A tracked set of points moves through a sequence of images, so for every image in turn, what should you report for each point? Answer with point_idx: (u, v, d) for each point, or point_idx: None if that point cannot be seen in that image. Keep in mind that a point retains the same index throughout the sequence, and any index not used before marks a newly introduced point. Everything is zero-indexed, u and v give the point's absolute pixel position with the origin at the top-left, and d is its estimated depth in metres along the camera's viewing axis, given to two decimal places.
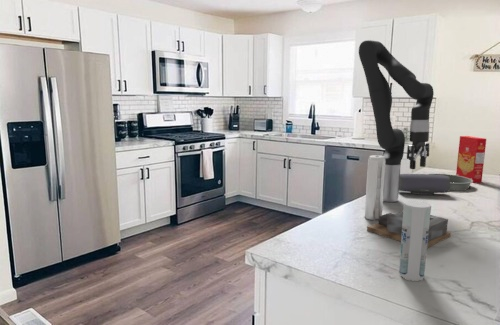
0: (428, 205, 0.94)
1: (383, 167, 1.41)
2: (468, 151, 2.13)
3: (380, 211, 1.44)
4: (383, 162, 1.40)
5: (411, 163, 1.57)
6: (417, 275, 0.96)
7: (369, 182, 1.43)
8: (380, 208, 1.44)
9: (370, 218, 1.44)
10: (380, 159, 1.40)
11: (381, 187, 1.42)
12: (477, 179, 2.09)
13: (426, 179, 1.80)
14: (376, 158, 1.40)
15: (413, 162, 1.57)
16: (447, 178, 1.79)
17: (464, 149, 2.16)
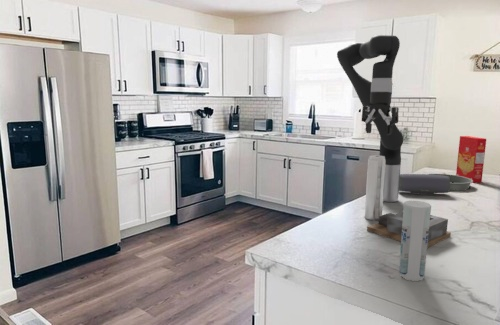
0: (428, 205, 0.94)
1: (383, 167, 1.41)
2: (468, 151, 2.13)
3: (380, 211, 1.44)
4: (383, 162, 1.40)
5: (391, 128, 1.37)
6: (417, 275, 0.96)
7: (369, 182, 1.43)
8: (380, 208, 1.44)
9: (370, 218, 1.44)
10: (380, 159, 1.40)
11: (381, 187, 1.42)
12: (477, 179, 2.09)
13: (426, 180, 1.80)
14: (376, 158, 1.40)
15: None
16: (447, 178, 1.79)
17: (464, 149, 2.16)
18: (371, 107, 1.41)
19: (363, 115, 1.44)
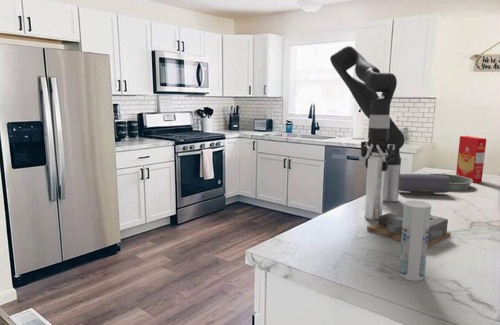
0: (428, 205, 0.94)
1: None
2: (468, 151, 2.13)
3: (380, 211, 1.44)
4: None
5: (387, 165, 1.40)
6: (417, 275, 0.96)
7: (369, 182, 1.43)
8: (380, 208, 1.44)
9: (370, 218, 1.44)
10: (380, 159, 1.40)
11: (381, 187, 1.42)
12: (477, 179, 2.09)
13: (426, 179, 1.80)
14: (376, 158, 1.40)
15: None
16: (447, 178, 1.79)
17: (464, 149, 2.16)
18: (369, 142, 1.44)
19: (362, 150, 1.46)
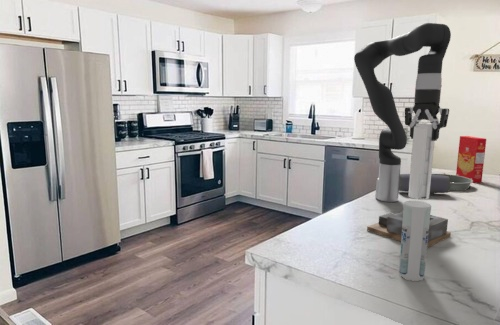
0: (428, 205, 0.94)
1: None
2: (468, 151, 2.13)
3: (428, 188, 1.23)
4: None
5: (437, 133, 1.18)
6: (417, 275, 0.96)
7: (416, 154, 1.22)
8: (428, 185, 1.22)
9: (416, 197, 1.23)
10: (430, 126, 1.19)
11: (430, 160, 1.21)
12: (477, 179, 2.09)
13: None
14: (425, 125, 1.19)
15: None
16: (447, 178, 1.79)
17: (464, 149, 2.16)
18: (415, 107, 1.22)
19: (406, 118, 1.25)
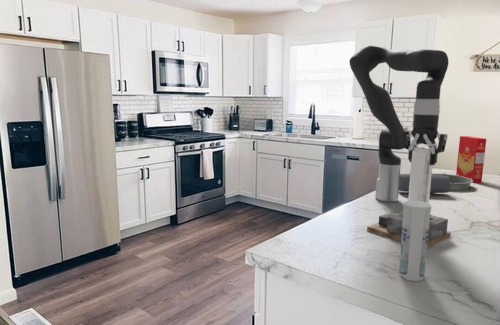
0: (428, 205, 0.94)
1: None
2: (468, 151, 2.13)
3: None
4: None
5: (436, 157, 1.20)
6: (417, 275, 0.96)
7: (414, 177, 1.23)
8: None
9: None
10: (428, 151, 1.20)
11: (428, 184, 1.22)
12: (477, 179, 2.09)
13: None
14: (423, 150, 1.20)
15: None
16: (447, 178, 1.79)
17: (464, 149, 2.16)
18: (414, 131, 1.24)
19: (405, 141, 1.26)
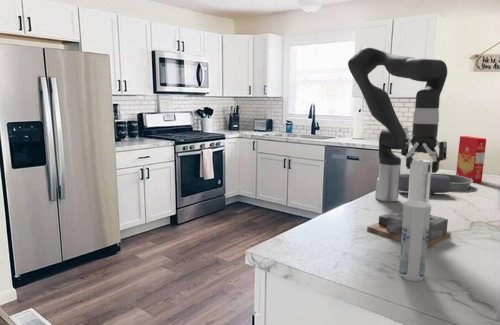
0: (428, 205, 0.94)
1: (429, 173, 1.21)
2: (468, 151, 2.13)
3: None
4: (429, 168, 1.21)
5: (437, 165, 1.20)
6: (417, 275, 0.96)
7: (412, 190, 1.24)
8: None
9: None
10: (426, 164, 1.21)
11: (426, 196, 1.23)
12: (477, 179, 2.09)
13: None
14: (421, 163, 1.21)
15: None
16: (447, 178, 1.79)
17: (464, 149, 2.16)
18: (413, 140, 1.24)
19: (403, 148, 1.27)
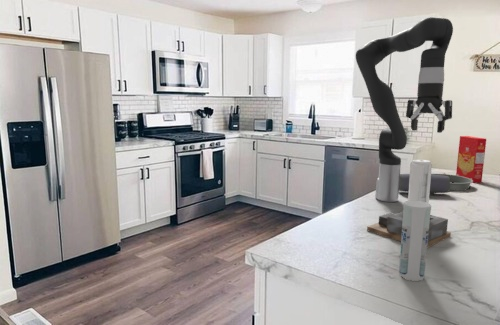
0: (428, 205, 0.94)
1: (429, 173, 1.22)
2: (468, 151, 2.13)
3: None
4: (429, 167, 1.21)
5: (443, 125, 1.20)
6: (417, 275, 0.96)
7: (412, 190, 1.24)
8: None
9: None
10: (426, 164, 1.21)
11: (427, 196, 1.23)
12: (477, 179, 2.09)
13: None
14: (421, 163, 1.21)
15: None
16: (447, 178, 1.79)
17: (464, 149, 2.16)
18: (418, 101, 1.24)
19: (408, 110, 1.27)
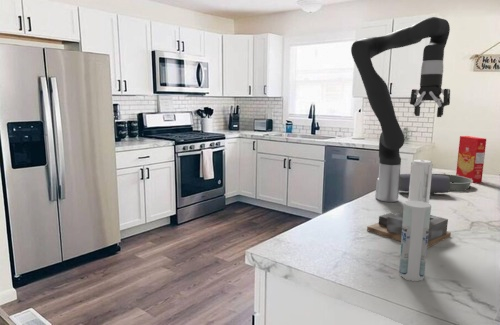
0: (428, 205, 0.94)
1: (430, 173, 1.22)
2: (468, 151, 2.13)
3: None
4: (430, 168, 1.21)
5: (442, 110, 1.38)
6: (417, 275, 0.96)
7: (413, 190, 1.24)
8: None
9: None
10: (427, 164, 1.21)
11: (427, 196, 1.23)
12: (477, 179, 2.09)
13: None
14: (422, 163, 1.21)
15: None
16: (447, 178, 1.79)
17: (464, 149, 2.16)
18: (421, 90, 1.42)
19: (412, 98, 1.46)
